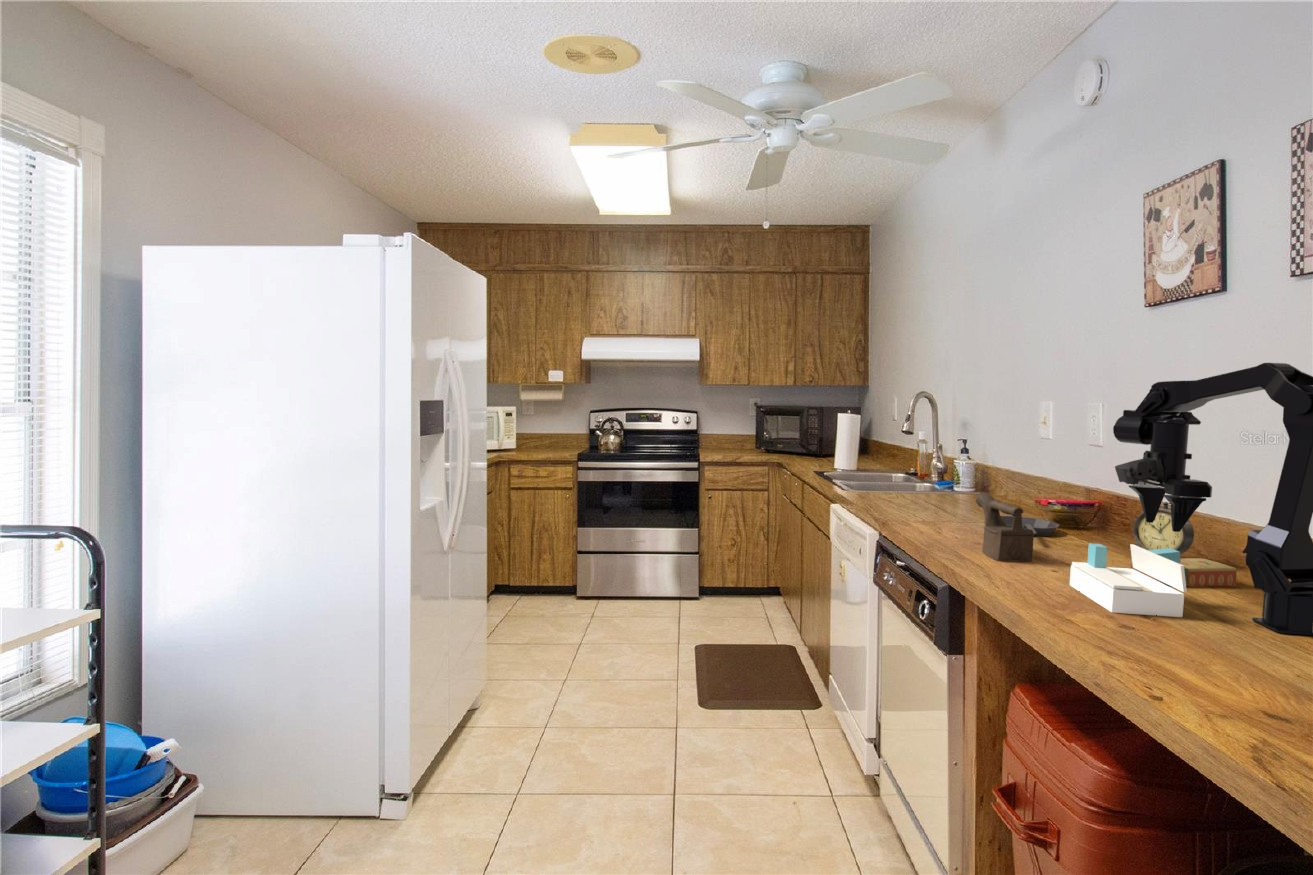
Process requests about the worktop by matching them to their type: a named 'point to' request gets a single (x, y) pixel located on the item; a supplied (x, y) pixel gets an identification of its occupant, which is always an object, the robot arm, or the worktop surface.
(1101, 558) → the flap
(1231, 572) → the carton
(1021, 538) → the clothes iron
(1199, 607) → the worktop surface
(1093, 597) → the carton box
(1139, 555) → the flap
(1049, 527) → the frying pan
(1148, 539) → the alarm clock
